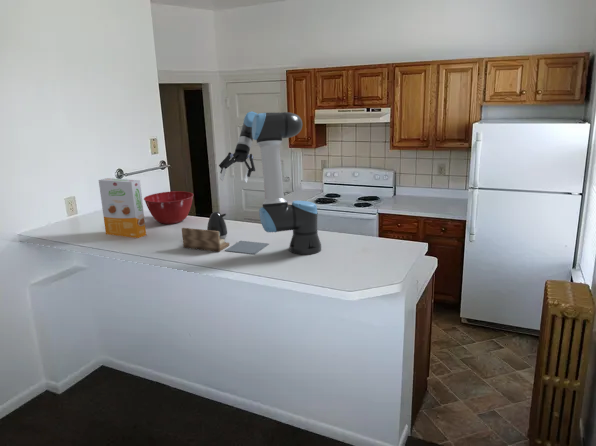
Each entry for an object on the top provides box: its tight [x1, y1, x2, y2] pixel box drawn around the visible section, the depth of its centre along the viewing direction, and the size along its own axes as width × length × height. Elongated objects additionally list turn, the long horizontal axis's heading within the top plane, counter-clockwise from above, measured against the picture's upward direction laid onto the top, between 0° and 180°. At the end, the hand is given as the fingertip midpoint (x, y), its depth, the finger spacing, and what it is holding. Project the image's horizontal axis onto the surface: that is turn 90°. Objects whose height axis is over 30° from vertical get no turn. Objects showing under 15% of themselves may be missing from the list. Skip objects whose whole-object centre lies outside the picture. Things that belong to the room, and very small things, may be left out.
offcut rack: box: [181, 227, 230, 253], centre depth 227 cm, size 20×10×10 cm, turn 69°
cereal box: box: [98, 177, 147, 239], centre depth 248 cm, size 22×6×30 cm, turn 66°
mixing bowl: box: [143, 190, 194, 225], centre depth 275 cm, size 28×28×16 cm
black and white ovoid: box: [206, 211, 228, 240], centre depth 236 cm, size 10×10×15 cm
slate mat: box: [224, 240, 270, 255], centre depth 226 cm, size 16×16×1 cm
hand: (233, 180), depth 244 cm, fingers open, 13 cm apart
